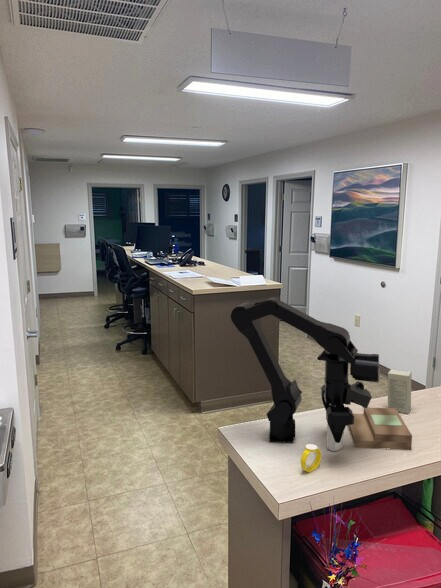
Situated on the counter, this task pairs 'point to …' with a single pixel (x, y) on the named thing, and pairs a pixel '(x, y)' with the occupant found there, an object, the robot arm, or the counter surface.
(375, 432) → the step riser
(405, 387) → the skincare box
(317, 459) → the watch
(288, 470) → the counter surface
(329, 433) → the eye dropper bottle
